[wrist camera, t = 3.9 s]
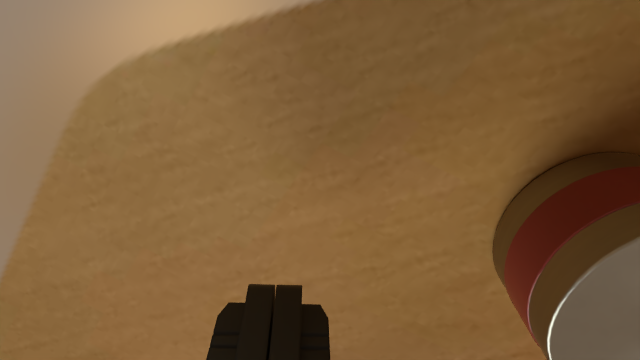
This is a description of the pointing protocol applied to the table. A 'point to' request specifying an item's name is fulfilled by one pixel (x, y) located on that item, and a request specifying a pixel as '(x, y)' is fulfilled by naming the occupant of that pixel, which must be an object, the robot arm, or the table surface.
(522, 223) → the tin can
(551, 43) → the table surface
